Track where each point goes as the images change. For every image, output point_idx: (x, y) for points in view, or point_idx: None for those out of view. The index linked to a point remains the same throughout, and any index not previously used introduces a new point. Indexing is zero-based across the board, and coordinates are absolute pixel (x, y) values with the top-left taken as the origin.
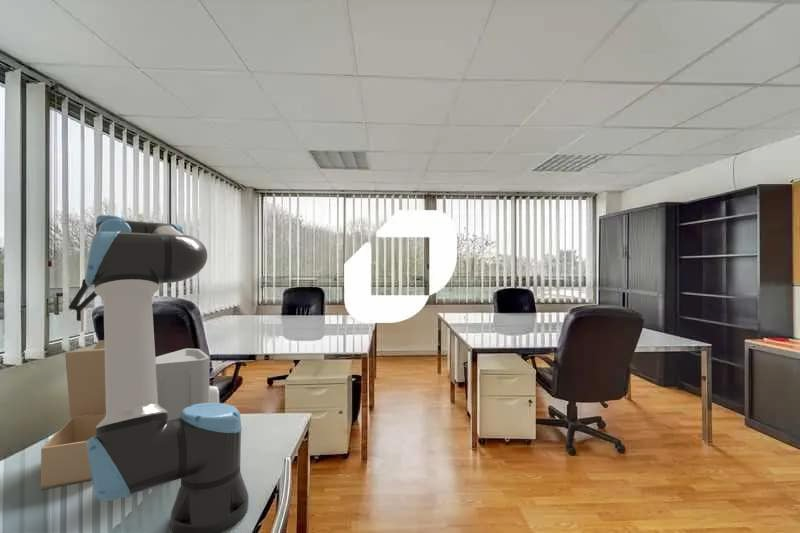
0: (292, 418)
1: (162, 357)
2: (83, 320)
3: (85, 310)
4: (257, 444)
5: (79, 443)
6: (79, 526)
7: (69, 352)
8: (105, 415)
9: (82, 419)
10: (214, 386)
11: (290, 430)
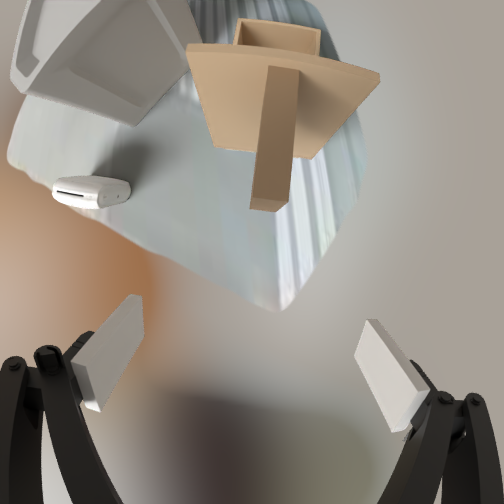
0: (17, 148)
1: (92, 2)
2: (391, 352)
3: (401, 416)
4: None
5: (271, 21)
6: None
7: (366, 69)
8: None
9: None
10: (55, 193)
11: (28, 107)
